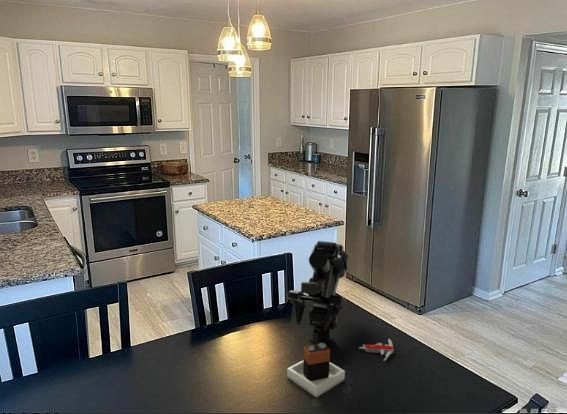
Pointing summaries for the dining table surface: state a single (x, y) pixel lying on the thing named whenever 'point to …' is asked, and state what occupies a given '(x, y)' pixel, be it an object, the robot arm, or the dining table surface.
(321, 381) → the parts tray
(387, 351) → the swiss army knife
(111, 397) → the dining table surface
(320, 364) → the battery
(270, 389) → the dining table surface
